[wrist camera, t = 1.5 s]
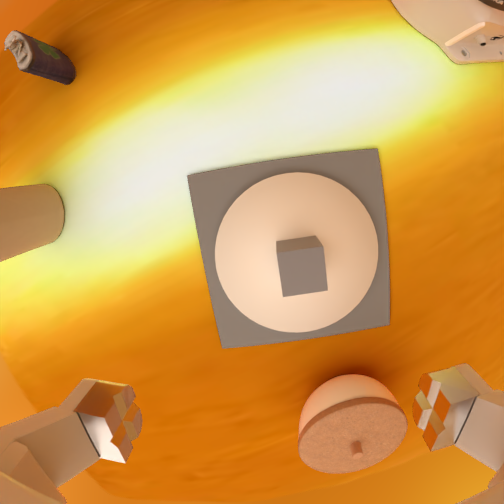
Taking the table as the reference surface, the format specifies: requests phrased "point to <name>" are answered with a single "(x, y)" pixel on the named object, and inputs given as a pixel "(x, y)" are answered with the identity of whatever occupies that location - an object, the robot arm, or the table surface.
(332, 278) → the lid
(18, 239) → the travel mug
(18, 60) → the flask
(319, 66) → the table surface
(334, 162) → the mat
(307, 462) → the lidded bowl
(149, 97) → the table surface
